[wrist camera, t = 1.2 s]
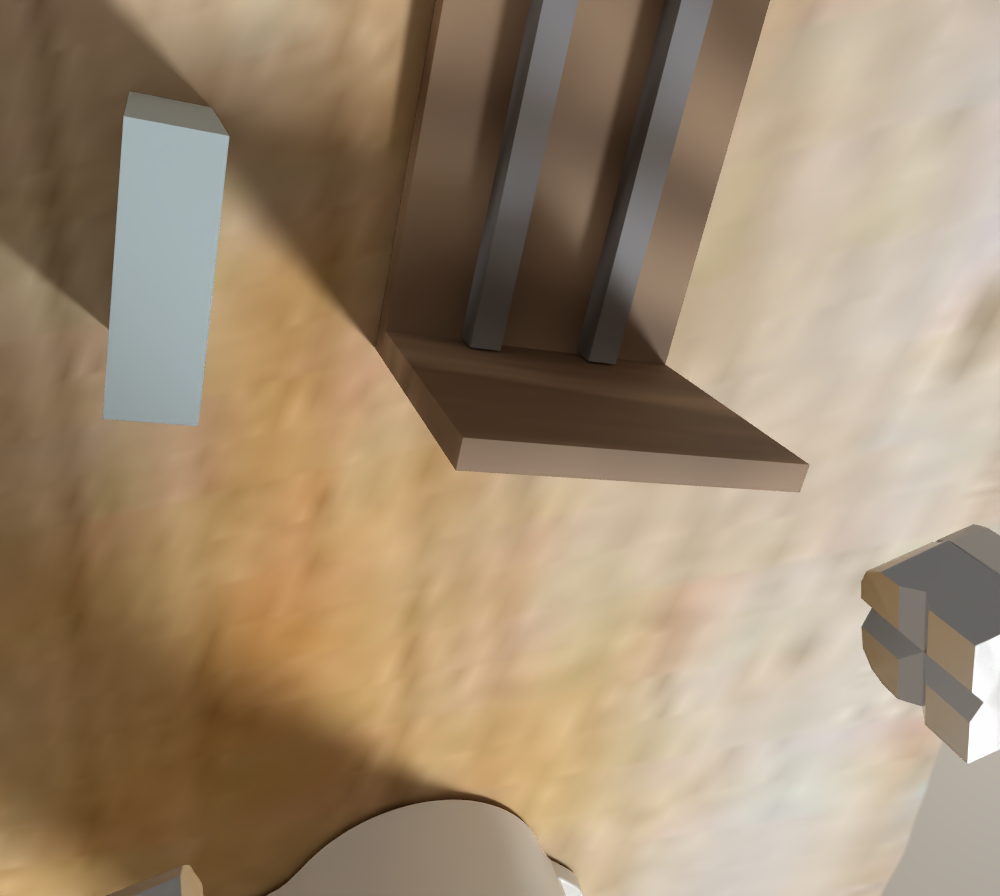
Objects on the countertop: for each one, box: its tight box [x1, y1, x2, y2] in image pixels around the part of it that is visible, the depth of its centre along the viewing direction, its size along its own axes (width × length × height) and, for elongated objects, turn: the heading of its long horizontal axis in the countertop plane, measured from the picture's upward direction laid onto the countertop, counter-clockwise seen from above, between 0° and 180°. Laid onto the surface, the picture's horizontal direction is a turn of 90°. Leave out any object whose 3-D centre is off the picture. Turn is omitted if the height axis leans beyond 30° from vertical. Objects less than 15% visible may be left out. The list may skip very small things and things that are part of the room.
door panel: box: [103, 91, 229, 426], centre depth 28 cm, size 8×2×8 cm, turn 167°
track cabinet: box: [375, 0, 809, 492], centre depth 30 cm, size 17×12×11 cm
